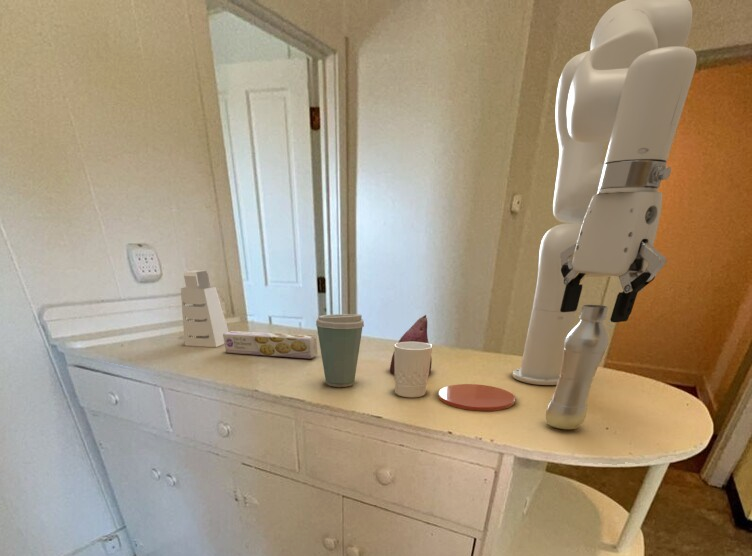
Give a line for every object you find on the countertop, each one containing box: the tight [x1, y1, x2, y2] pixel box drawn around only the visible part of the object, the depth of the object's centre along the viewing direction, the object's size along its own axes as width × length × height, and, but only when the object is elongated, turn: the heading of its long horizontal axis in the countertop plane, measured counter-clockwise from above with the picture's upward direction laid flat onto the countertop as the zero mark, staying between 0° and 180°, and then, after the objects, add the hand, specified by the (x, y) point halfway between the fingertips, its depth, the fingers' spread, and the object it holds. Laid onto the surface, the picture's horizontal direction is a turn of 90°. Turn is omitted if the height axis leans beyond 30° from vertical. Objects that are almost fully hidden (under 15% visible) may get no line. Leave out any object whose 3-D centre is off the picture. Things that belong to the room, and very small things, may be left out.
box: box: [223, 330, 319, 360], centre depth 121 cm, size 27×5×6 cm, turn 73°
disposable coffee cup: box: [315, 313, 365, 388], centre depth 95 cm, size 11×11×15 cm
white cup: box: [393, 342, 433, 398], centre depth 91 cm, size 8×8×10 cm
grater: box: [180, 270, 230, 348], centre depth 130 cm, size 10×10×20 cm
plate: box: [437, 383, 516, 412], centre depth 91 cm, size 16×16×1 cm
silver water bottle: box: [545, 304, 609, 430], centre depth 72 cm, size 6×7×20 cm
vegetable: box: [389, 314, 433, 375], centre depth 106 cm, size 10×10×15 cm
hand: (591, 316), depth 68 cm, fingers open, 9 cm apart
